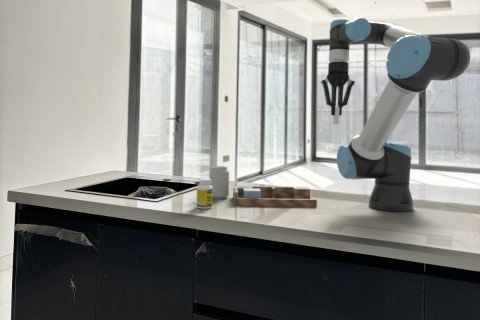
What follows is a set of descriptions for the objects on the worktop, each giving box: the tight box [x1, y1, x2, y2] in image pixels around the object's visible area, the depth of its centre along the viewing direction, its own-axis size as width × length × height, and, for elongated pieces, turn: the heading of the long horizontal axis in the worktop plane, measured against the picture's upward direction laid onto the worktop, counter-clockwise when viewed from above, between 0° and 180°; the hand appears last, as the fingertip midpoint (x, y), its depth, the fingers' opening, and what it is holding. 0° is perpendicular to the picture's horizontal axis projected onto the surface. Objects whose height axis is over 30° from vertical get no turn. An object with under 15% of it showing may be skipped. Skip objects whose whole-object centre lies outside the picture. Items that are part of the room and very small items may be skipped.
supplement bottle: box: [196, 177, 214, 210], centre depth 143 cm, size 5×5×10 cm
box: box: [232, 185, 318, 208], centre depth 156 cm, size 29×16×4 cm, turn 93°
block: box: [243, 188, 261, 198], centre depth 154 cm, size 6×6×5 cm
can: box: [209, 165, 230, 200], centre depth 162 cm, size 8×8×12 cm
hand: (335, 124), depth 163 cm, fingers closed
